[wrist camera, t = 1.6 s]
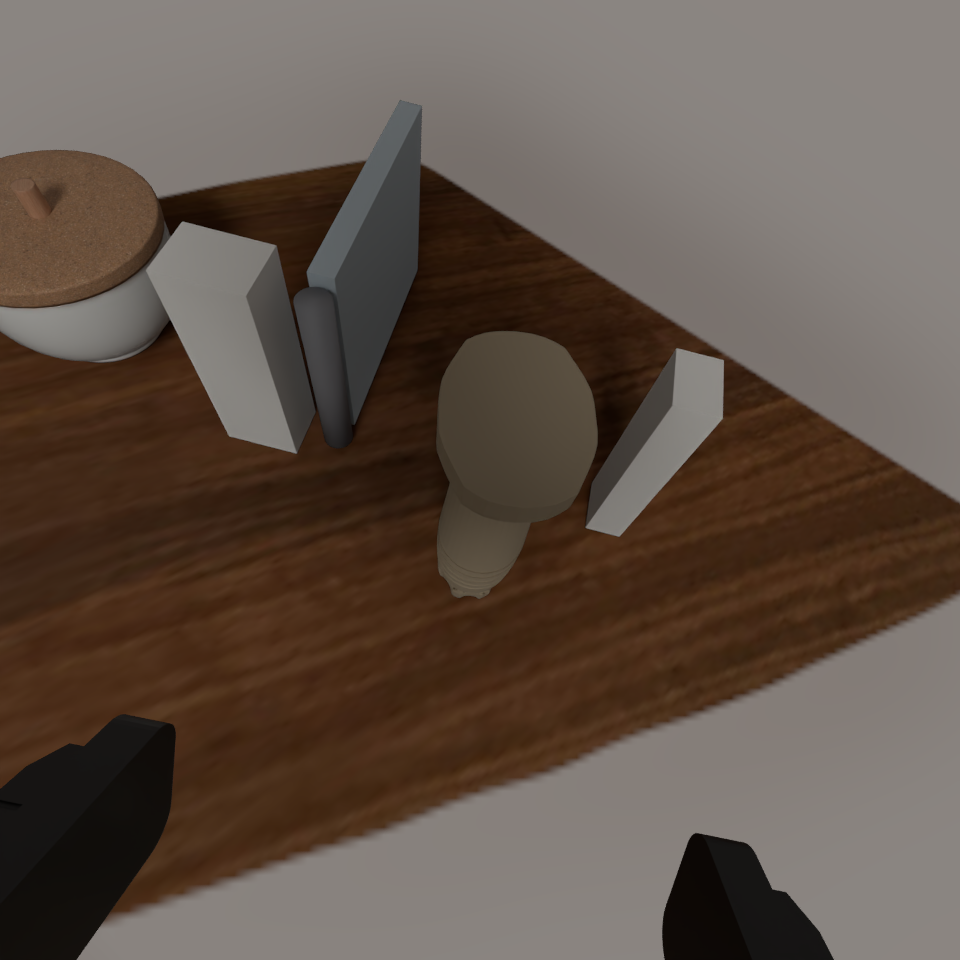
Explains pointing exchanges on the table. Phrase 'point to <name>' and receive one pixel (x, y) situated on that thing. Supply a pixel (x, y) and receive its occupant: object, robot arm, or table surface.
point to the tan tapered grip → (507, 451)
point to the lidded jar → (78, 256)
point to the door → (363, 276)
